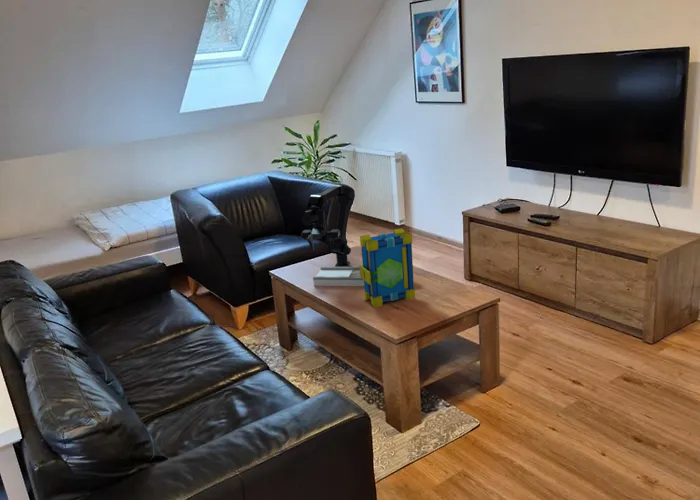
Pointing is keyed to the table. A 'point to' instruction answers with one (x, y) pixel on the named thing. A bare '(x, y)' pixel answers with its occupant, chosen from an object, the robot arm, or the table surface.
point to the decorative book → (387, 267)
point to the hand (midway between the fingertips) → (322, 250)
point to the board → (337, 277)
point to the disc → (355, 274)
